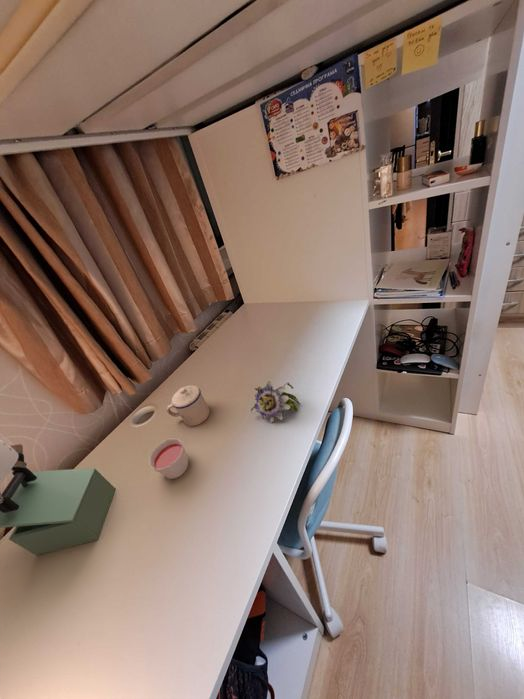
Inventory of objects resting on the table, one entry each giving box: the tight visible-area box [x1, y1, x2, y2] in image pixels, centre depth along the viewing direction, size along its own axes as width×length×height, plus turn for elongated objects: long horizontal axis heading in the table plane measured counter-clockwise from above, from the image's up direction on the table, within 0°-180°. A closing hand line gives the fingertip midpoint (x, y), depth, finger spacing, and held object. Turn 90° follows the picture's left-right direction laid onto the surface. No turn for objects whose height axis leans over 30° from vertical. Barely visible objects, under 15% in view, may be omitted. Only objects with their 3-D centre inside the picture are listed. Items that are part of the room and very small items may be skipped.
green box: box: [8, 469, 116, 556], centre depth 70 cm, size 16×13×9 cm
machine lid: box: [0, 467, 97, 529], centre depth 64 cm, size 16×13×5 cm
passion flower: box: [250, 380, 301, 424], centre depth 82 cm, size 11×11×12 cm
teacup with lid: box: [166, 384, 211, 427], centre depth 88 cm, size 12×9×12 cm
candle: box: [148, 437, 189, 480], centre depth 75 cm, size 9×9×6 cm
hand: (21, 494), depth 65 cm, fingers closed on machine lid, 6 cm apart
